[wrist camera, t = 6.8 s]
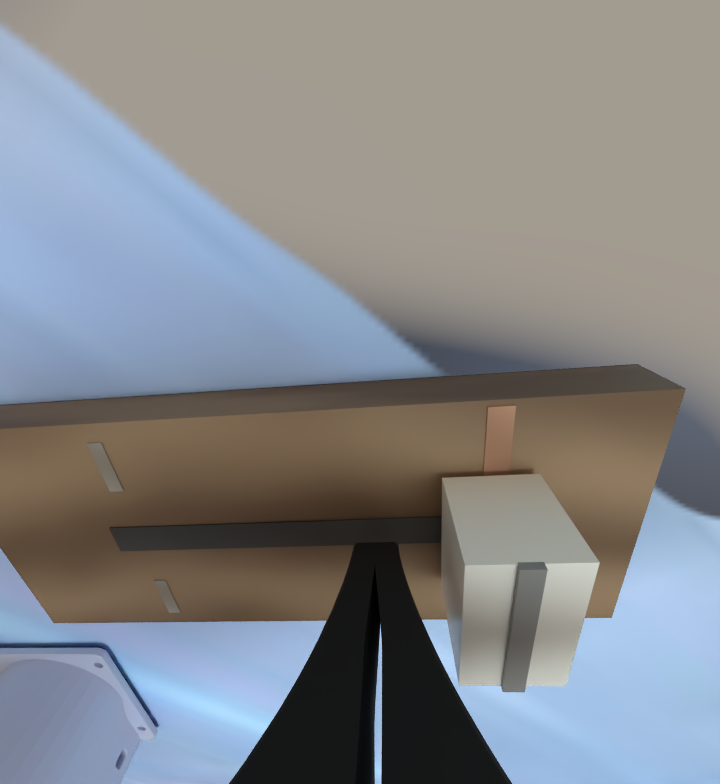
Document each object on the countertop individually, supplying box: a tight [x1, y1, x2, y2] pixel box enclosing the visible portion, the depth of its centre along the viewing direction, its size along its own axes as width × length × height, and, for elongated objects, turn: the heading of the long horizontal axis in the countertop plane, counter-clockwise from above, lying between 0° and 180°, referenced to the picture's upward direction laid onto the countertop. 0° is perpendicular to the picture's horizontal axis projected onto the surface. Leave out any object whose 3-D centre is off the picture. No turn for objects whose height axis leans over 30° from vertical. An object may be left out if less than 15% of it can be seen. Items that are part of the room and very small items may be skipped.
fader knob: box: [441, 474, 600, 692], centre depth 10 cm, size 5×3×3 cm, turn 5°
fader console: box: [0, 364, 685, 623], centre depth 14 cm, size 10×24×2 cm, turn 95°
